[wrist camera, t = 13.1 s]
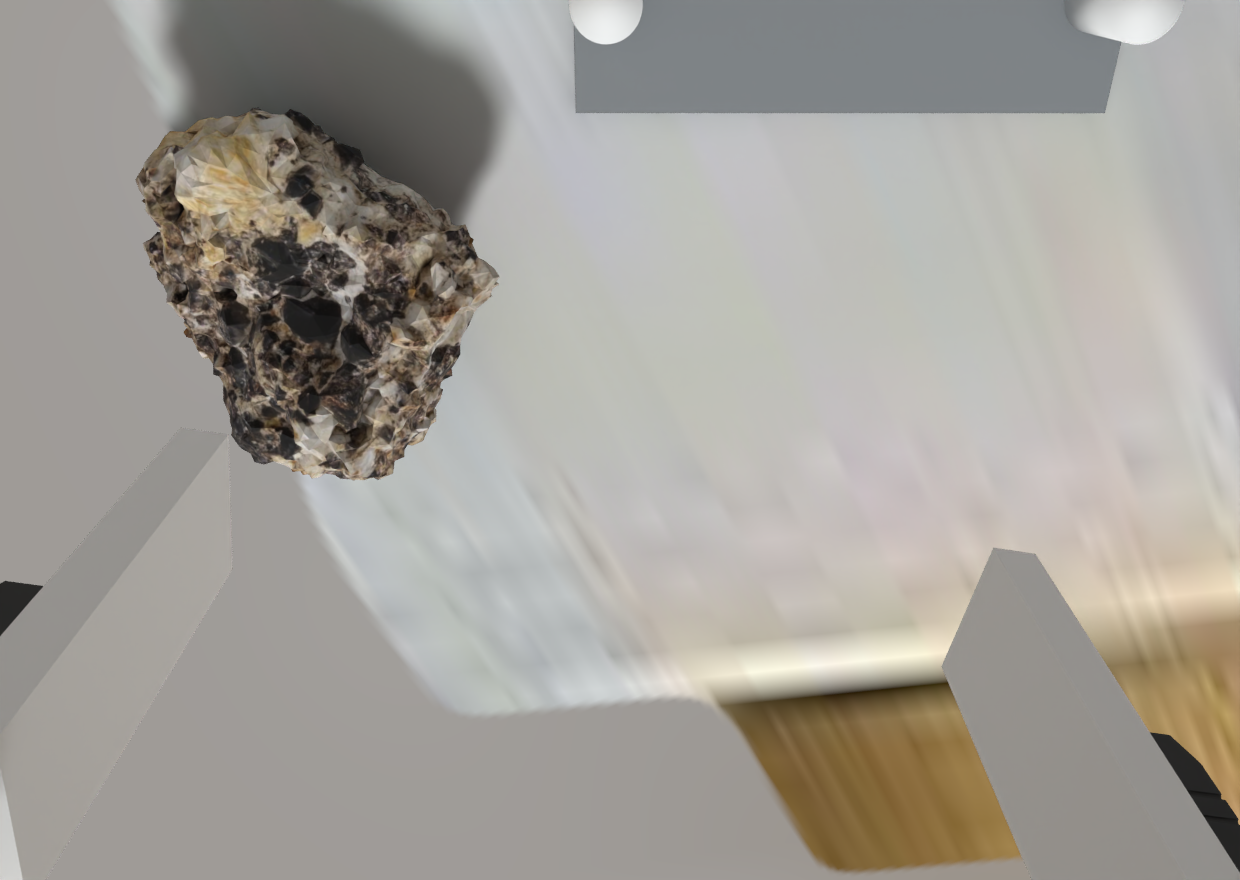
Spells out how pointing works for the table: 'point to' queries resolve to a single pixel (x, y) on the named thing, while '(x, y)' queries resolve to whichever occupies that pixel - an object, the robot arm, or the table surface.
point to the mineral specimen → (310, 289)
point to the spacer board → (855, 54)
